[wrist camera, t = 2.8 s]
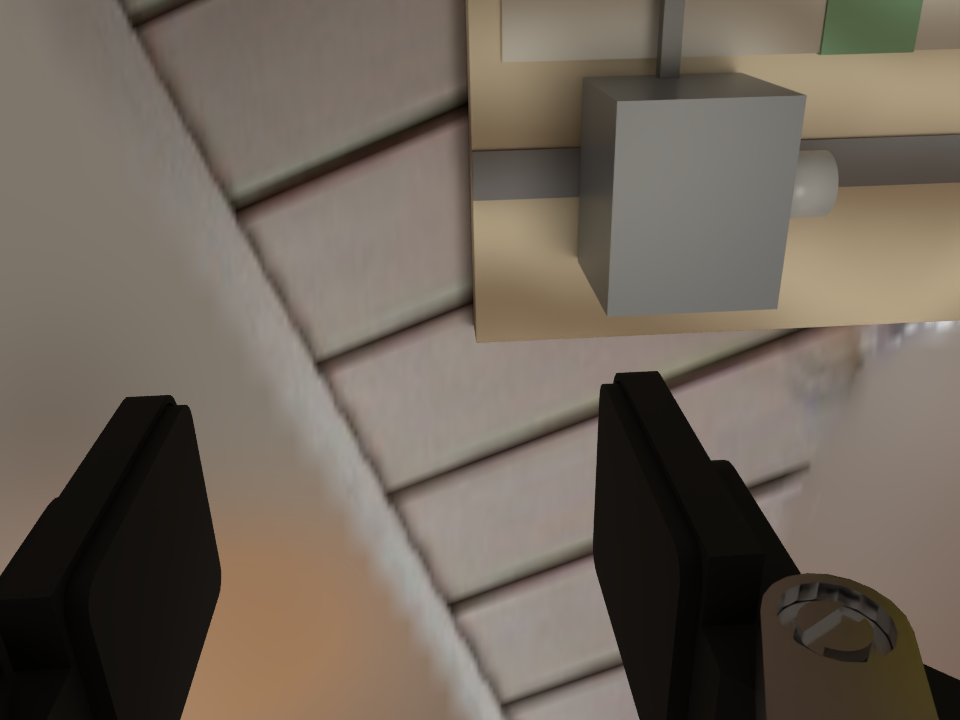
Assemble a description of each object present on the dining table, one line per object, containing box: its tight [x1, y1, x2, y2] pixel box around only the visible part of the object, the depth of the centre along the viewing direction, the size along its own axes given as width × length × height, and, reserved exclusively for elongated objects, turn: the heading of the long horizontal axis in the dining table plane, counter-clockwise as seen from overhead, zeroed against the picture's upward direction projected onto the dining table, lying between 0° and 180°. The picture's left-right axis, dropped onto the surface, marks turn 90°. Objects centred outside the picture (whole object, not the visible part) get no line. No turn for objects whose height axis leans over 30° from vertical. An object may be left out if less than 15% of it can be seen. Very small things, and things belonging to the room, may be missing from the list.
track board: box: [466, 0, 960, 343], centre depth 26 cm, size 12×24×8 cm, turn 91°
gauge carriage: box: [578, 0, 839, 317], centre depth 25 cm, size 9×7×5 cm
